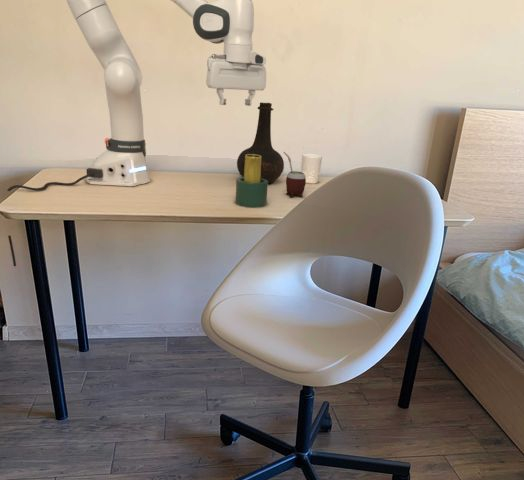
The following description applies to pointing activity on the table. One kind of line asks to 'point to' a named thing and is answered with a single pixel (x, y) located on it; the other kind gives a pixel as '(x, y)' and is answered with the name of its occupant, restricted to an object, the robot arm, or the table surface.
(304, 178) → the mate gourd
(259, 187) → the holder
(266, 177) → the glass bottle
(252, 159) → the vase
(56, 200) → the table surface
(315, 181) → the white cup
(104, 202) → the table surface
